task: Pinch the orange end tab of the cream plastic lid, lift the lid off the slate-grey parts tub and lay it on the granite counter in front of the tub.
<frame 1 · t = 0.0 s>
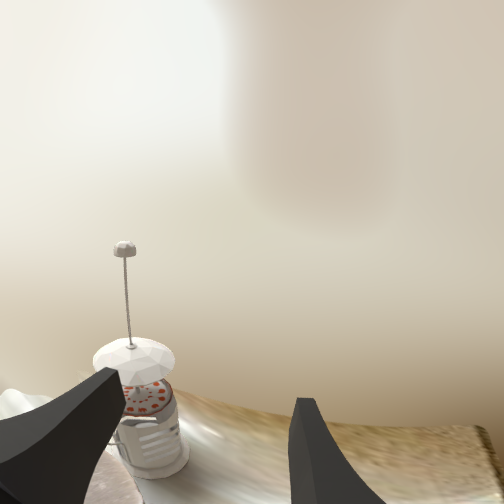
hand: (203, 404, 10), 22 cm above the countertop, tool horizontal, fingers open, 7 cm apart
french press: (144, 453, 28), on the countertop
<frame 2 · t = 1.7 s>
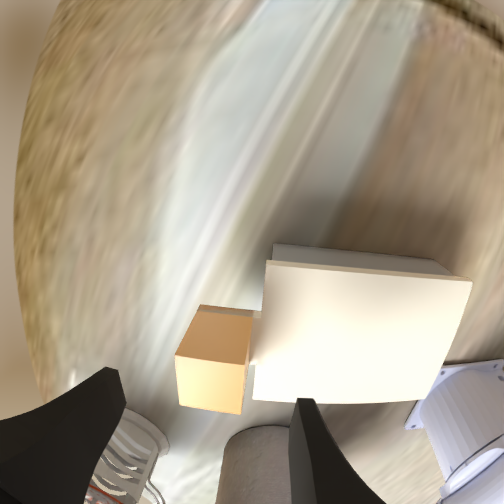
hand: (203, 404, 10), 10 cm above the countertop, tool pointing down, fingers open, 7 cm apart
pillar candle: (275, 450, 25), on the countertop
tub: (349, 308, 19), on the countertop
lid: (363, 341, 15), point 4 cm above the countertop, touching tub
french press: (135, 436, 26), on the countertop
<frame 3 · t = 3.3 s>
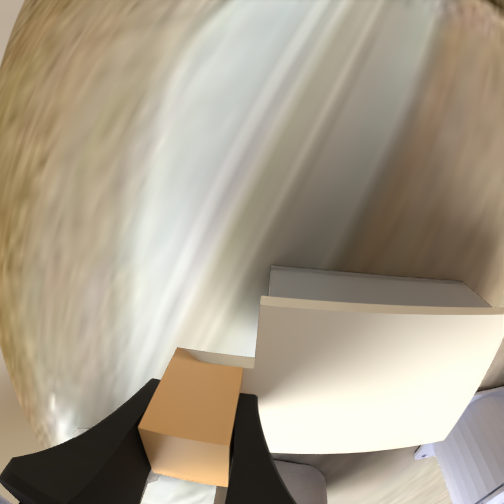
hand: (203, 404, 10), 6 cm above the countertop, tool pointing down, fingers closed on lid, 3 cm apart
pillar candle: (273, 481, 21), on the countertop
tub: (362, 340, 15), on the countertop
lid: (380, 388, 12), point 4 cm above the countertop, touching gripper, tub
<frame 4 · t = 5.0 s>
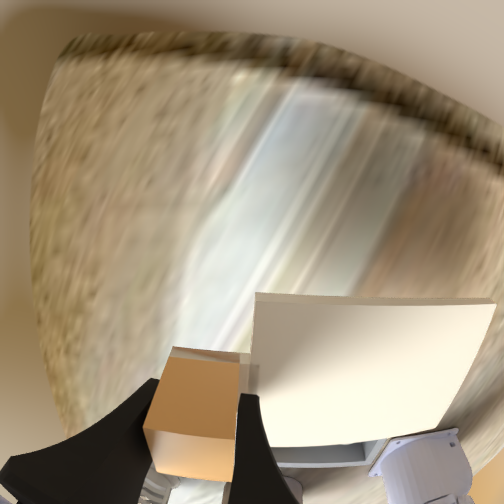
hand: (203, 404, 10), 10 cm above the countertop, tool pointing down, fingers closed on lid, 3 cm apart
pillar candle: (264, 487, 29), on the countertop
tub: (318, 408, 23), on the countertop
lid: (371, 379, 12), point 8 cm above the countertop, touching gripper
french press: (151, 474, 30), on the countertop
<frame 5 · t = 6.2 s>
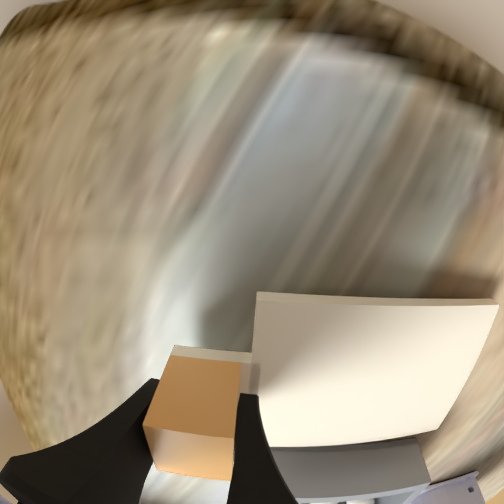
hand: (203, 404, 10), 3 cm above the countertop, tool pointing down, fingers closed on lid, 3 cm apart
tub: (325, 473, 16), on the countertop
lid: (373, 379, 12), point 1 cm above the countertop, touching gripper
when the fingers open (3 cm above the countertop, at t = 7.0 s): lid stays where it is, on the countertop.
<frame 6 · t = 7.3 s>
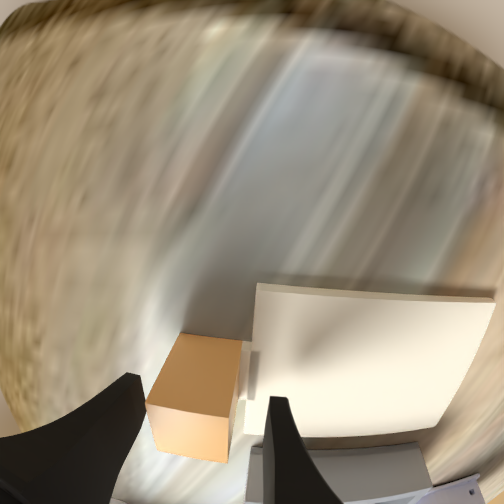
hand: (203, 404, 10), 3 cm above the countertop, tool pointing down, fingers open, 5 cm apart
tub: (325, 478, 16), on the countertop
lid: (370, 372, 13), on the countertop
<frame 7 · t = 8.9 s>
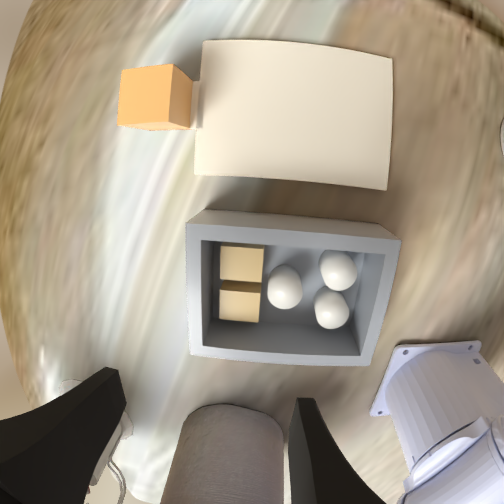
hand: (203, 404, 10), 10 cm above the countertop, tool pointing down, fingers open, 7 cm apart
pillar candle: (234, 432, 25), on the countertop
tub: (287, 276, 19), on the countertop
lid: (296, 109, 16), on the countertop
french press: (101, 415, 26), on the countertop
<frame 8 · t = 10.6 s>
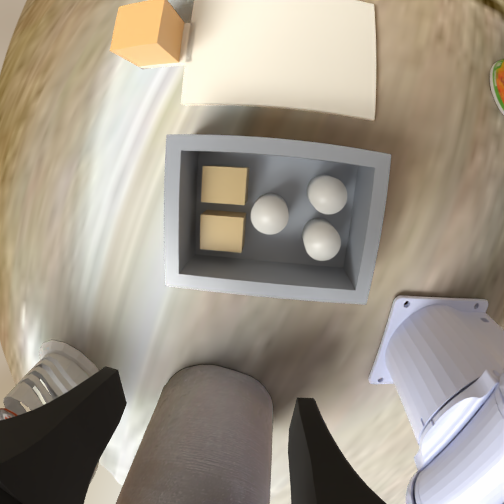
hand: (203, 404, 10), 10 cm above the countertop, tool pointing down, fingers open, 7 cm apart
pillar candle: (219, 401, 24), on the countertop
tub: (273, 208, 18), on the countertop
lid: (282, 45, 15), on the countertop
french press: (81, 382, 25), on the countertop
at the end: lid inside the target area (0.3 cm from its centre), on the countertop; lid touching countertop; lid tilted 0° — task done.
